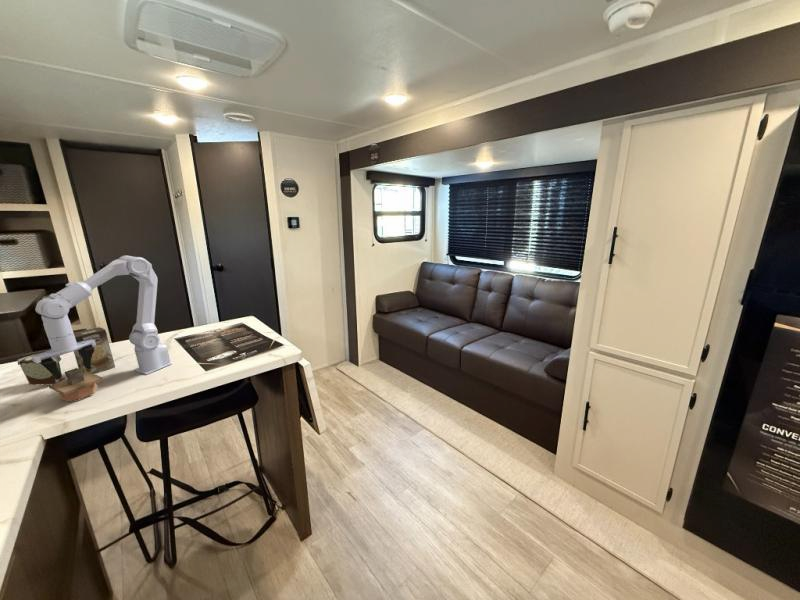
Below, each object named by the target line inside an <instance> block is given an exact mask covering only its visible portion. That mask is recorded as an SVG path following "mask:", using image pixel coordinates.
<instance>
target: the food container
mask: <svg viewBox="0 0 800 600" xmlns="http://www.w3.org/2000/svg"><path fill="white" fill-rule="evenodd" d="M38 354H39V353H37V354H36V353H35V354H32V355H29V356H24V357H22V358H19V359H17V362H16V363H17V365H18V366H20V369H21V370H22V373H23V374H24V377H25V378H26V380H27V382H28V384H29V386H39V384H40V386H42V385H41V384H44V385H45V386H47V385H46V384H55V383H58V382H60V381H63V380H62V379H63V374H62V369H61V363H60V361H61V360H62V358H61V355H60V356H57V357H53V358H52V359H53V360H54V361H56V364H57V369H58V372H59V375H60V378H61V379H59V380H57V379H55V378H54V376H53V375H52V374H51V373H50V371H49V370H48V369H46V368H45V367H44V366H43V365H41V364H40V363H35V362H34V361H33V359H32V356H35V355H38ZM37 384H38V385H37ZM44 385H43V386H44Z"/></svg>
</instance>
